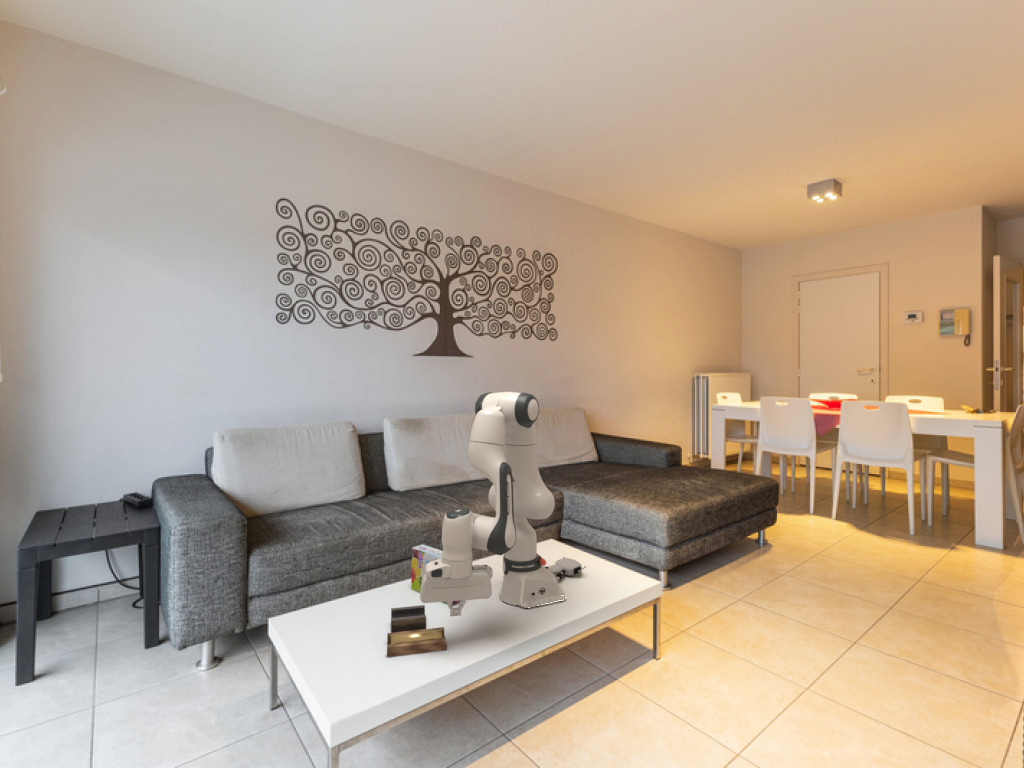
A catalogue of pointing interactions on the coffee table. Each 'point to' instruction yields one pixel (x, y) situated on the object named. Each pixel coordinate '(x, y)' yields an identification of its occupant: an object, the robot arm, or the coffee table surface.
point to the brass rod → (416, 636)
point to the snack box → (423, 564)
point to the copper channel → (415, 645)
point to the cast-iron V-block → (408, 618)
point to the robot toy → (565, 567)
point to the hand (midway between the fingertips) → (455, 615)
